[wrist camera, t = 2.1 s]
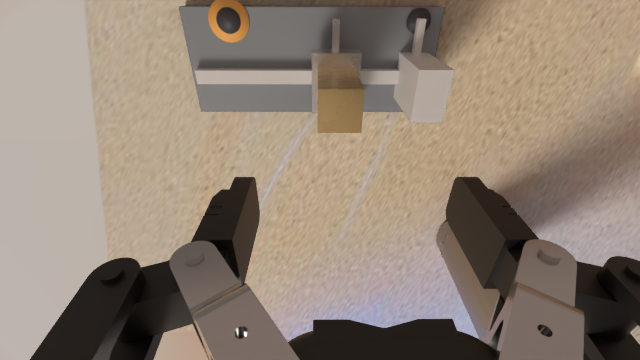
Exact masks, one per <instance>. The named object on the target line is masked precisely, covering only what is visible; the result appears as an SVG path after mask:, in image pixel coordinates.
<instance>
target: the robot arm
mask: <svg viewBox="0 0 640 360" xmlns="http://www.w3.org/2000/svg"><path fill="white" fill-rule="evenodd" d="M259 216H260V211H259V202H258V195H257V187H256V181H255V178H254V177H235V178H234V180H233V183H232V185H231V188H230V190H221V191H220V192H218V193H217V194H216V195H215V196H214V197H213V198H212V200H211V202H210V204H209V206H208V208H207V210H206V212H205V216H203V218H202V221H201V223H200V225H199V227H198V229H197V231H196V233H195V235H194V237H193V239H192V241H191V242H190V243H188V244H185V245H183V246H182V247H180V248H179V249H177V250H176V251H175V252H174V253H173V255H172V256H171V258H170V260H168V261H166V262H162V263H158V264H154V265H150V266H146V267H142V268H141V267H140V265H139V263H138V262H137V261H136V260H135V259H132V258H118V259H114V260H111V261H109V262H106V263H104V264H102V265H101V266H99V267H98V268H96V269H95V270H94V271H93V272H92V273H91V274H90V275H89V276H88V277H87V279H86V280H85V282H84V283H83V285H82V286H81V287H80V289H79V290H78V292H77V293H76V295H75V296H74V297H73V299H72V300H71V302H70V303H69V305H68V306H67V307H66V309H65V310H64V312H63V313H62V315H61V316H60V317H59V319H58V320H57V322H56V323H55V325H54V326H53V327H52V329H51V330H50V332H49V333H48V335H47V336H46V338H45V339H44V340H43V342H42V343H41V345H40V346H39V347H38V349H37V350H36V352H35V353H34V355H33V356H32V357H31V359H30V360H153V359H154V356H155V354H156V351H157V348H158V346H159V343H160V340H161V338H162V335H163V333H164V332H167V331H170V330H173V329H177V328H180V327H183V326H186V325H190V324H192V325H193V327H194V329H195V331H196V333H197V336H198V338H199V340H200V342H201V345H202V347H203V349H204V351H205V354H206V356H207V358H208V360H640V344H639V343H638V342H637V341H636V339H635V338H634V337H633V336H632V335H631V333H630V332H631V331H632V330H633V329H634V328H635V327H636V326H637V325H638V326H639V327H640V261H637V260H634V259H631V258H627V257H621V256H615V257H611V258H609V259H608V260H607V262H606V263H605V265H604V266H603V267H600V266H595V265H591V264H586V263H582V262H577V261H576V260H575V258H574V257H573V256H572V255H571V254H570V253H569V252H568V251H567V250H565V249H564V248H562V247H561V246H559V245H557V244H554V243H552V242H549V241H545V240H540V239H539V238H538V237H537V236H536V235H535V234H534V233H533V231H532V230H531V229H530V228H529V227H528V226H527V224H526V223H525V222H524V221H523V220H522V219H521V217H520V216H519V215H517V213H516V212H515V210H514V209H513V208H511V206H510V205H509V203H508V202H507V201H506V200H505V199H504V198H503V197H502V196H501V195H499V194H498V193H496V192H494V191H493V190H491V189H488V188H487V187H486V186H485V185H484V184H483V182H482V181H481V180H480V179H479V178H478V177H457V178H456V179H455V180H454V183H453V186H452V190H451V193H450V197H449V200H448V204H447V208H446V219H447V221H446V222H445V223H444V224H443V225H442V226H441V228H440V229H439V232H438V234H437V245H438V247H439V249H440V252H441V255H442V257H443V258H444V261H445V263H446V265H447V267H448V270H449V272H450V274H451V276H452V279H453V281H454V283H455V285H456V287H457V290H458V292H459V294H460V296H461V299H462V301H463V303H464V305H465V307H466V310H467V312H468V314H469V316H470V319H471V321H472V323H473V325H474V327H475V330H476V332H477V334H478V336H479V338H480V340H479V339H477V338H475V337H473V336H471V335H468V334H466V333H463V332H460V331H457V330H456V327H455V325H454V322H453V320H452V319H417V320H414V321H410V322H406V323H403V324H399V325H395V326H392V327H388V328H381V327H376V326H372V325H368V324H364V323H360V322H355V321H351V320H313V331H311V332H307V333H304V334H302V335H300V336H297V337H296V338H294V339H292V340H291V341H289V342H287V341H286V339H285V338H284V336H283V335H282V333H281V332H280V330H279V329H278V328H277V326H276V325H275V323H274V322H273V320H272V319H271V317H270V316H269V315H268V313H267V312H266V310H265V309H264V307H263V306H262V304H261V303H260V302H259V300H258V299H257V297H256V296H255V294H254V293H253V291H252V290H251V289H250V287H249V286H248V285H247V284H246V283H244V282H245V278H246V274H247V270H248V265H249V261H250V257H251V253H252V249H253V245H254V241H255V236H256V232H257V228H258V224H259Z"/></svg>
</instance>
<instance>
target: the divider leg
mask: <svg viewBox="0 0 640 360" xmlns="http://www.w3.org/2000/svg"><path fill="white" fill-rule="evenodd" d="M339 38H340V18H332V49H312V113H318V133H361V128H362V115H363V103H364V91H365V89H364V87H363V85H362V82H361V80H360V71H361V57H362V53H361V51H360V49H339Z"/></svg>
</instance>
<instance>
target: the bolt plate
mask: <svg viewBox="0 0 640 360" xmlns="http://www.w3.org/2000/svg"><path fill="white" fill-rule="evenodd" d="M179 11H180V16H181V20H182V25H183V29H184V34H185V39H186V43H187V48H188V53H189V57H190V62H191V66H192V71H193V76H194V80H195V85H196V90H197V94H198V99H199V103H200V108H201V112H312V49H332V18H340V38H339V49H360V51H361V53H362V57H361V71H360V80H361V82H362V85H363V87H364V89H365V91H364V103H363V112H404V114H405V115H406V117H407V118H408V120H409V122H410V123H442V122H443V118H444V113H445V109H446V105H447V100H448V96H449V92H450V88H451V83H452V79H453V75H454V69H452V68H450V67H449V66H447V65H446V64H444V63H443V62H441V61H440V60H438V59H437V58H435V54H436V49H437V44H438V39H439V34H440V28H441V23H442V18H443V13H444V7H439V6H242V4H241V3H239V2H238V1H237V0H215V1H214V2H213V3H212V5H211V6H181V7H179Z"/></svg>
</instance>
